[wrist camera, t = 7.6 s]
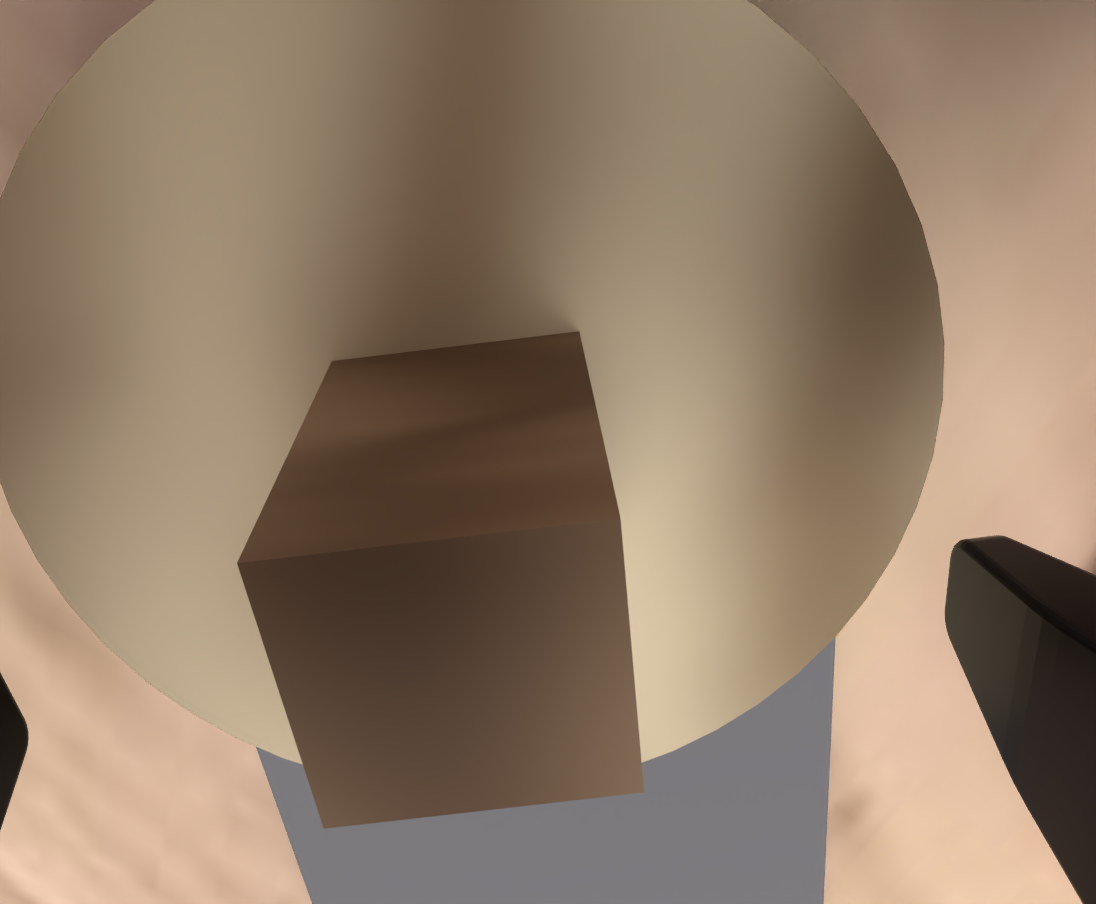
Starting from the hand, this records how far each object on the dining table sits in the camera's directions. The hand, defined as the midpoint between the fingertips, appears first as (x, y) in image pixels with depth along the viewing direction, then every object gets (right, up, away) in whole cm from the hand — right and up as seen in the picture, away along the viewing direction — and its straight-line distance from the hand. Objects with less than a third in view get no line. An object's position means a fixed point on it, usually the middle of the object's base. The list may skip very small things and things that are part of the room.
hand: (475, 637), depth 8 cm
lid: (-1, +2, +6) cm, 6 cm away
